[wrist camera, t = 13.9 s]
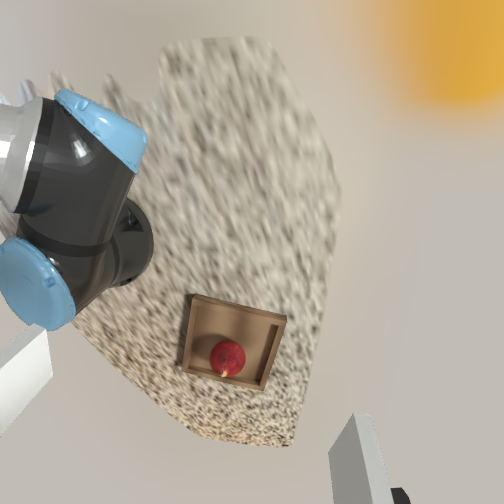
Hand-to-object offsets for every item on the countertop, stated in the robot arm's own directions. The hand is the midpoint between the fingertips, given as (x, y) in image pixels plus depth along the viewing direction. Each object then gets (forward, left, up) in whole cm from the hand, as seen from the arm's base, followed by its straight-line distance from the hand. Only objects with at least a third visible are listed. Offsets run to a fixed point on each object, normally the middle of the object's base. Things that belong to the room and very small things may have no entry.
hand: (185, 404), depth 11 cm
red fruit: (+1, -21, -36) cm, 42 cm away
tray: (+1, -21, -37) cm, 42 cm away
